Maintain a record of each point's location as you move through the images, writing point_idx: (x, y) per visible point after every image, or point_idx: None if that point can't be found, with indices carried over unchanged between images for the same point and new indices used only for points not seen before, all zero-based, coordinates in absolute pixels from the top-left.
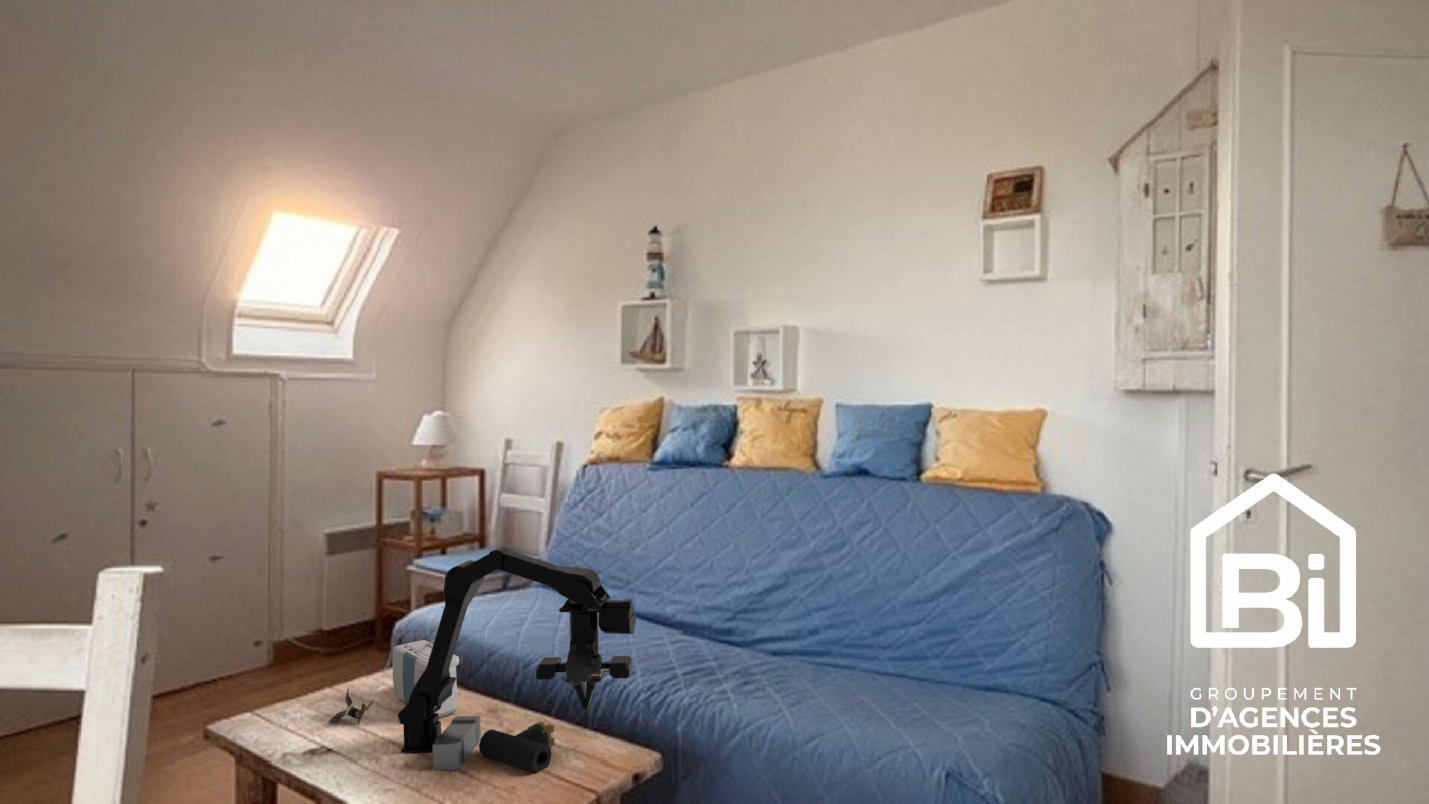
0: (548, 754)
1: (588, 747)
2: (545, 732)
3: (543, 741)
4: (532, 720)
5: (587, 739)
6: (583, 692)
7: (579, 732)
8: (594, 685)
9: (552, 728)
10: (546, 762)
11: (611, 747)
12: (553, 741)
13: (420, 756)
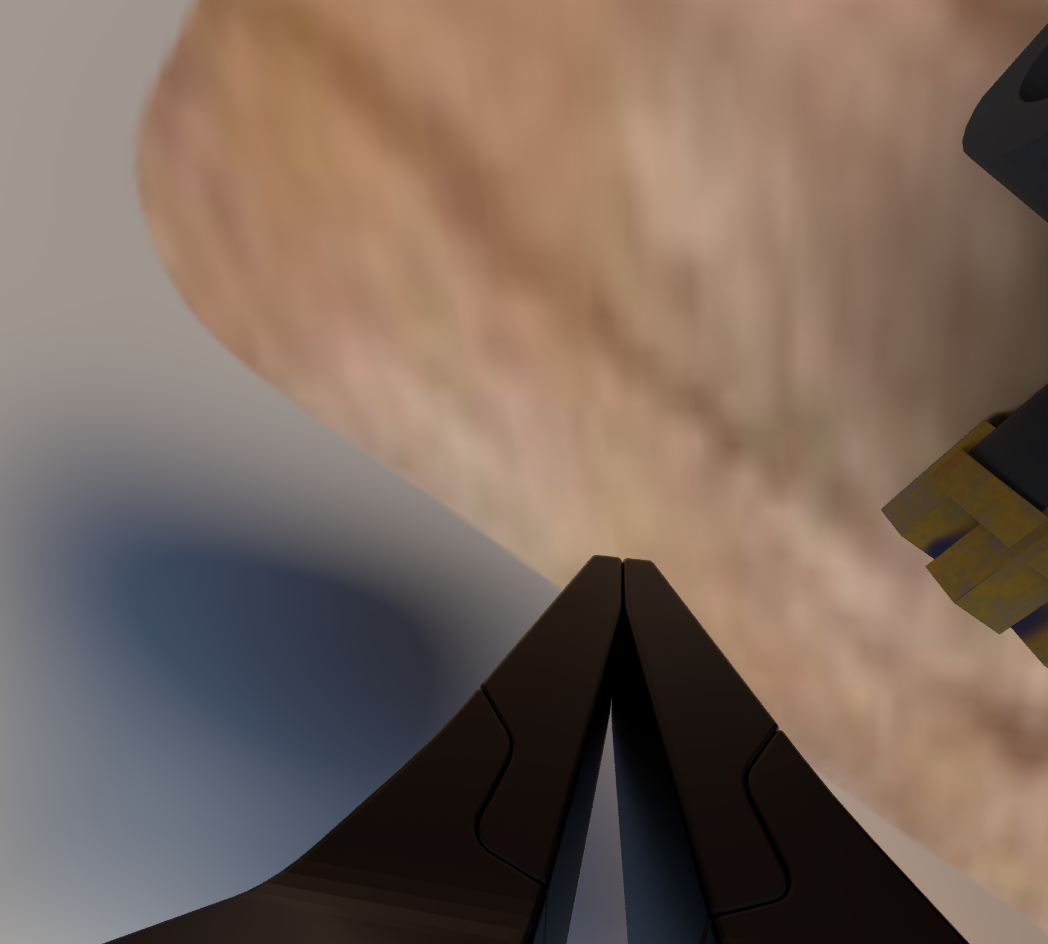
0: (1024, 118)
1: (618, 455)
2: (1041, 512)
3: (1036, 432)
4: (997, 845)
5: None
6: (654, 797)
7: None
8: (244, 895)
9: (957, 577)
10: (1012, 92)
11: (455, 436)
12: (899, 517)
13: None
